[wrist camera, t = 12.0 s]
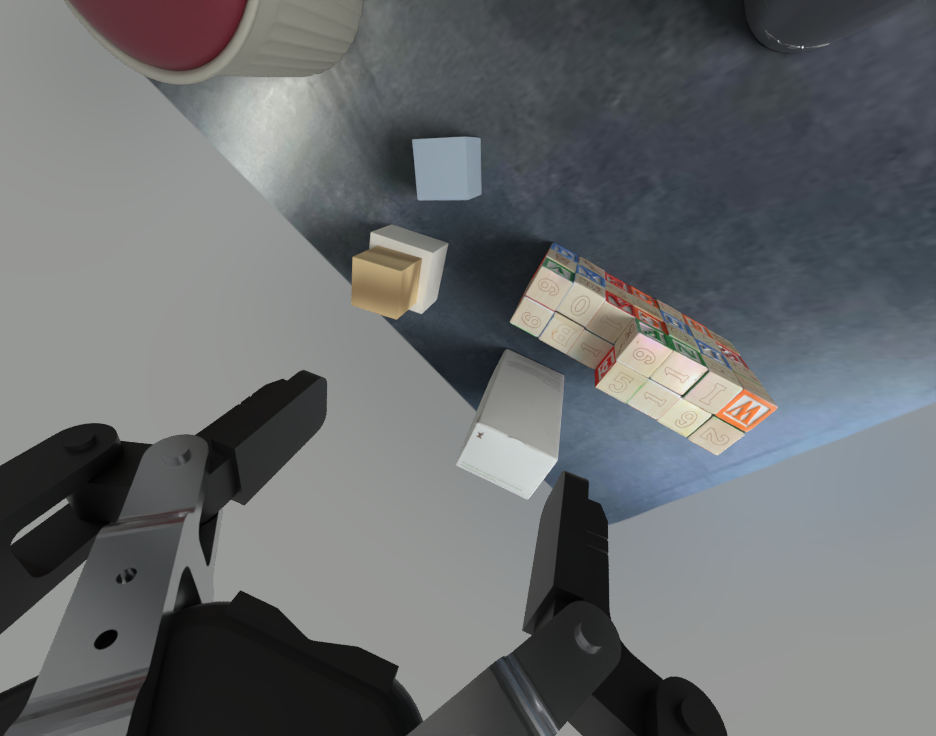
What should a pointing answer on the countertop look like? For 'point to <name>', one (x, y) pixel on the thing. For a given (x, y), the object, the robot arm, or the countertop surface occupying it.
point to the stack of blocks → (643, 351)
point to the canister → (222, 36)
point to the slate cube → (447, 168)
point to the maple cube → (385, 281)
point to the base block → (419, 247)
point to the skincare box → (516, 426)
